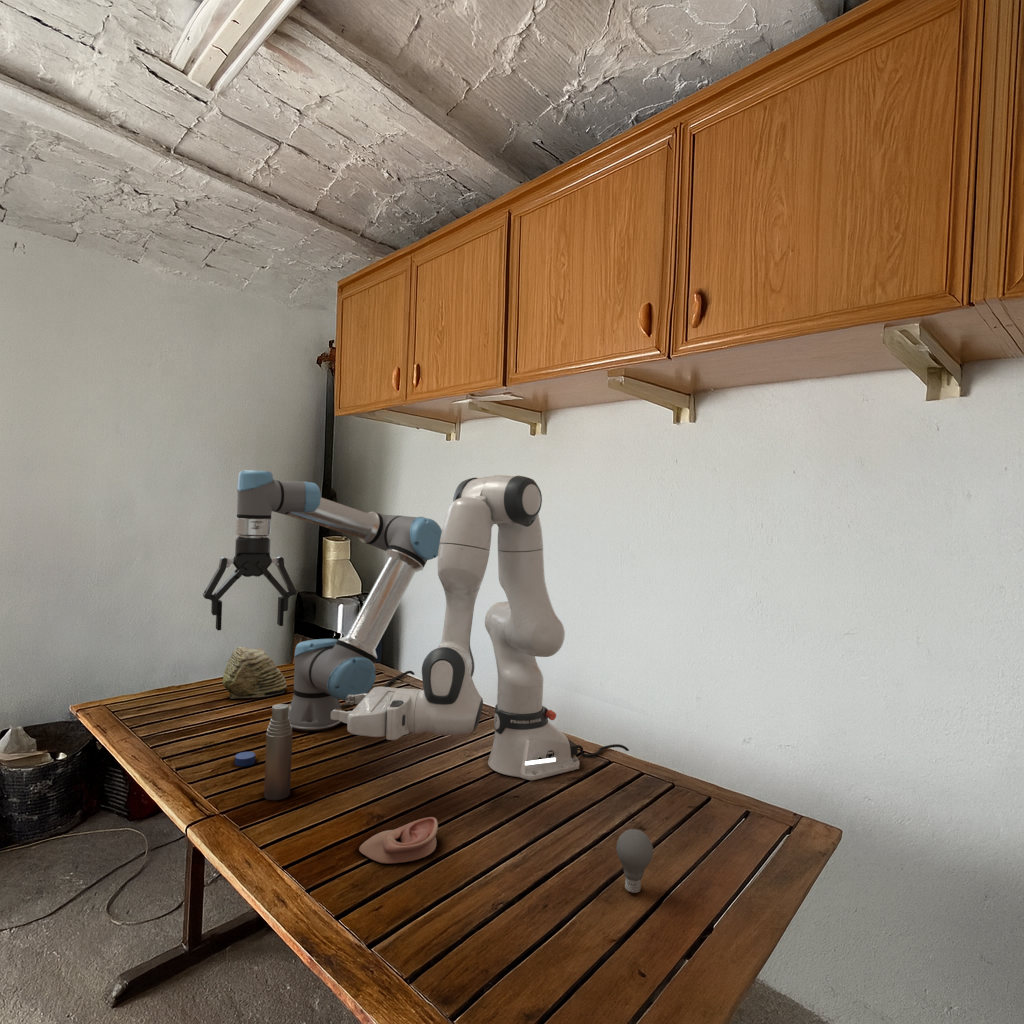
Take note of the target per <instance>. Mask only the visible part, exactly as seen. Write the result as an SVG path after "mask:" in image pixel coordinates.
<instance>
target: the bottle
mask: <svg viewBox="0 0 1024 1024" xmlns="http://www.w3.org/2000/svg"><path fill="white" fill-rule="evenodd" d="M288 710H289V704H286V703H277V704H274V705H272V708H271V718H270V721H269V724H268V725H267V728H266V733H265V734H266V736H265V758H264V761H265V762H264V763H265V764H264V785H263V798H264V799H265V800H268V801H280V800H284V799H286V798H289V796H290V795H291V781H292V779H291V778H292V756H293V755H292V754H293V753H292V752H293V730H292V727H291V723H290V720H289V717H288Z"/></svg>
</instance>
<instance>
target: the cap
mask: <svg viewBox="0 0 1024 1024" xmlns="http://www.w3.org/2000/svg"><path fill="white" fill-rule="evenodd" d="M255 763H256V753H255V752H254V751H241V752H239V753H236V754H235V756H234V765H235V766H237V767H249V766H252V765H254V764H255Z"/></svg>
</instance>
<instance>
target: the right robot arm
mask: <svg viewBox="0 0 1024 1024" xmlns="http://www.w3.org/2000/svg"><path fill="white" fill-rule="evenodd" d="M542 496H543V495H542V492H541V489H540V487H539V485H538V484H537V482H536V481H535V479H533V478H531V477H528V476H524V475H515V476H514V475H500V474H499V475H498V474H497V475H491V476H483V477H471V478H467V479H465V480H463V481H461V482H460V483H459V484H458V486H457V487H456V489H455V491H454V494H453V498H452V501H451V503H450V505H449V507H448V510H447V513H446V515H445V518H444V522H443V525H442V528H441V530H442V533H441V538H440V544H439V550H438V556H437V576H438V579H439V582H440V583H441V586H442V588H443V591H444V595H445V613H444V614H445V615H444V620H443V627H442V628H443V629H442V635H441V641H440V643H439V645H438V646H437V648H434V649H432V650H431V651H430V652H429V653H428V654H427V655H426V656H425V658H424V659H423V662H422V665H421V679H422V687H423V689H421V688H420V689H419V688H401V687H399V688H398V687H390V686H387V687H383V686H374V687H372V688H371V689H370V691H369V692H368V693H363V694H357V695H348V696H347V697H346V698H345V700H346V701H345V703H344V704H347V705H351V706H354V705H356V706H355V707H354V708H353V709H352V710H347V711H345V710H343V708H341V709H334V710H333V711H332V712H331V719H332V720H339V721H341V722H342V723H344V724H347V725H346V726H347V728H346V731H347V732H348V733H349V734H352V735H355V736H361V737H362V736H363V737H372V738H383V737H385V739H386V740H387V741H396V740H398V739H400V738H401V737H403V736H406V735H409V734H412V735H413V734H414V735H416V734H417V735H419V734H424V733H429V734H433V735H436V736H448V737H449V736H451V737H452V736H453V737H454V736H467V735H470V734H472V733H473V732H474V731H475V730H476V729H477V728H478V726H479V723H480V720H481V718H482V717H481V716H482V713H483V706H484V699H483V696H481V695H480V693H479V691H478V689H477V687H476V685H475V682H474V680H473V676H474V673H475V658H474V656H473V653H472V649H471V635H472V628H473V627H472V626H473V620H474V619H473V618H474V613H475V612H474V610H475V605H476V601H477V598H478V595H479V591H480V589H481V586H482V584H483V580H484V578H485V574H486V571H487V567H488V563H489V559H490V552H491V543H492V528H493V527H494V525H497V572H498V582H499V584H500V586H501V588H502V589H503V591H504V593H505V596H506V599H507V601H498V602H496V603H494V604H493V605H491V606H490V607H489V608H488V610H487V612H486V613H485V617H484V627H485V630H486V632H487V634H488V635H489V639H490V640H491V644H492V648H493V653H494V658H495V665H496V671H497V693H496V694H497V695H496V696H497V697H496V699H497V700H496V705H495V706H494V715H493V726H494V734H493V735H494V736H493V741H492V746H491V750H490V754H489V757H488V760H487V765H488V767H489V768H490V769H491V770H492V771H494V772H497V773H499V774H502V775H505V776H508V777H509V776H510V777H516V778H521V779H523V780H525V781H526V780H527V781H536V780H540V779H544V778H548V777H552V776H556V775H559V774H565V773H568V772H572V771H575V770H579V769H580V766H581V765H580V760H579V758H578V754H579V753H580V754H579V755H581V756H582V757H584V758H592V757H595V756H599V755H600V754H601V753H602V751H604V750H607V749H611V748H621V749H623V750H625V751H626V752H629V751H630V750H629V748H628V747H627V746H625V745H623V744H619V743H615V744H608V745H603V746H600V747H599V748H598V751H596V752H592V753H584V747H583V746H582V745H579V744H576V742H573V741H572V740H571V739H570V738H568V737H567V736H566V735H565V733H563V732H562V731H561V730H559V729H558V727H556V726H555V725H554V724H552V723H551V722H550V721H555V720H556V718H557V713H556V712H555V711H553V710H552V709H549V708H547V707H546V706H544V705H543V701H544V700H543V697H544V674H543V672H542V670H541V668H540V666H539V665H538V662H537V659H536V658H537V657H539V658H548V657H552V656H555V655H556V654H557V653H558V652H559V651H560V650H561V649H562V647H563V645H564V642H565V637H566V630H565V626H564V624H563V622H562V620H561V619H560V618H559V617H558V615H557V613H556V611H555V610H554V607H553V604H552V601H551V599H550V595H549V591H548V588H547V583H546V577H545V576H546V575H545V559H544V558H545V557H544V556H545V555H544V539H543V537H544V536H543V530H542V525H541V523H542V522H541V520H540V515H539V513H540V511H541V509H542V503H543V497H542ZM549 720H550V721H549ZM579 749H580V750H579ZM578 752H579V753H578Z"/></svg>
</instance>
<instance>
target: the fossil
mask: <svg viewBox="0 0 1024 1024" xmlns="http://www.w3.org/2000/svg"><path fill="white" fill-rule="evenodd" d="M222 676H223V677H222V685H223V687H224V688H225V690H226V691H228V693H229V698H230V699H250V698H264V697H271V696H275V695H281V694H284V693H285V691H286V689H287V687H288V686H287V680H286V678H285V676H284V674H283V673H282V672H281V669H279V668H278V667H277V665H276V663H275V662H274V660H273V659H272V658H271V657H270V656H269V655H268V654H267V653H266V652H265V650H264V649H263V648H260V647H258V648H251V647H247V646H246V647H245V646H238V647H237V648H236V649H235V650H233V651H232V653H231V656H230V657H229V659H228V660H227V663H226V666H225V668H224V671H223V675H222Z"/></svg>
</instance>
